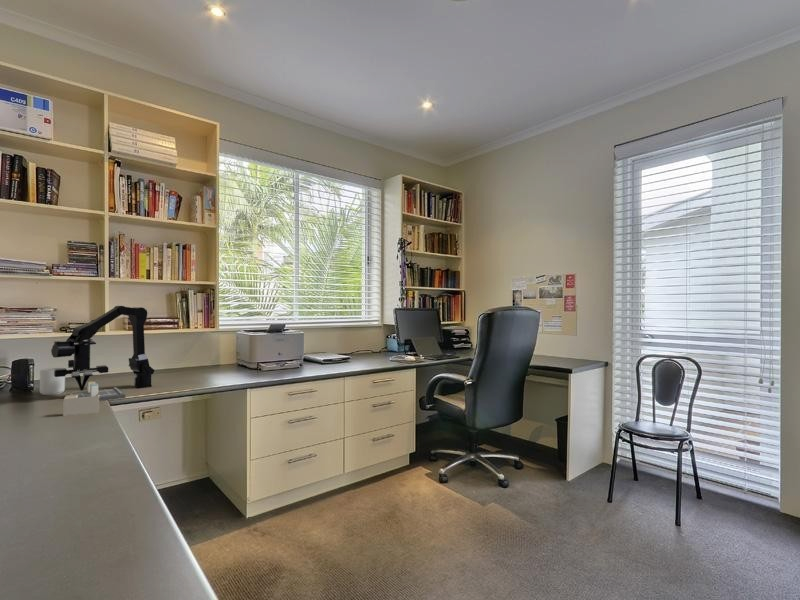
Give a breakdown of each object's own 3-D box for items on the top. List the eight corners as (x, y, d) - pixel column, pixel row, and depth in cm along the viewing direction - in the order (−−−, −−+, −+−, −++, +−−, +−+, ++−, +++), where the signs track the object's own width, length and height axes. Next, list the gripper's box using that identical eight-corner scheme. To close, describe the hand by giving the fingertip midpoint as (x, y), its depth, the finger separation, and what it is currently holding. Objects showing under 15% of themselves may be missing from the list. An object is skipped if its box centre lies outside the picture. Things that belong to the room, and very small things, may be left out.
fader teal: (97, 394, 179) (97, 383, 179) (98, 395, 177) (98, 384, 177) (90, 395, 178) (90, 383, 178) (91, 396, 175) (91, 385, 175)
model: (65, 415, 154) (65, 394, 154) (100, 412, 159) (100, 392, 159) (63, 417, 151) (63, 396, 151) (98, 414, 156) (99, 393, 156)
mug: (61, 394, 186) (61, 370, 187) (36, 396, 183) (36, 371, 183) (69, 389, 197) (69, 366, 198) (46, 391, 194) (46, 367, 194)
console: (117, 391, 195) (117, 386, 195) (125, 397, 181) (125, 392, 181) (66, 397, 182) (66, 392, 182) (70, 404, 168) (70, 399, 168)
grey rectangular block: (93, 390, 186) (94, 380, 187) (95, 391, 184) (95, 381, 184) (87, 391, 185) (87, 380, 185) (88, 392, 182) (88, 381, 182)
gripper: (104, 352, 195) (104, 385, 194) (53, 355, 182) (52, 390, 182) (108, 354, 186) (108, 388, 186) (55, 357, 174) (54, 394, 173)
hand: (81, 390), depth 182 cm, fingers closed
